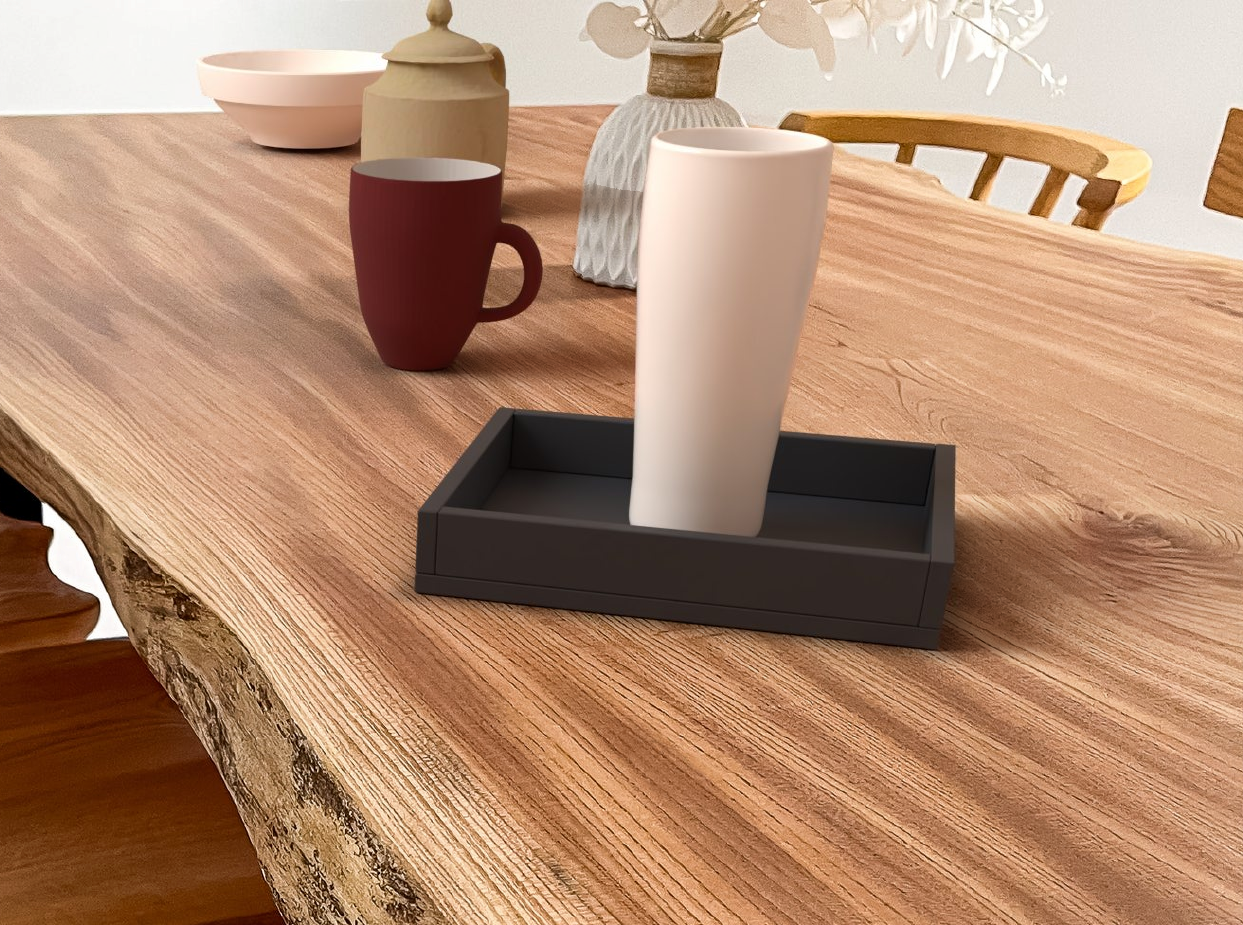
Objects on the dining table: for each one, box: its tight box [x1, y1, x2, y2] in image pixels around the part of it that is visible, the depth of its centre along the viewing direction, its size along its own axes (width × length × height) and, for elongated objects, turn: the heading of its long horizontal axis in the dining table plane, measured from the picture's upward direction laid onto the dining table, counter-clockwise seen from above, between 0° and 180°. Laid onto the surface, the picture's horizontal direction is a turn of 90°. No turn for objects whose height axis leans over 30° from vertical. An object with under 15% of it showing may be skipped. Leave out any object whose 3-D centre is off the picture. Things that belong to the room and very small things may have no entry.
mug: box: [348, 158, 544, 371], centre depth 102 cm, size 11×8×10 cm
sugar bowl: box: [360, 0, 510, 209], centre depth 144 cm, size 15×11×15 cm
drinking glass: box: [629, 126, 835, 537], centre depth 74 cm, size 7×7×15 cm
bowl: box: [196, 48, 388, 149], centre depth 172 cm, size 20×20×7 cm
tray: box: [413, 406, 957, 650], centre depth 77 cm, size 20×16×3 cm
